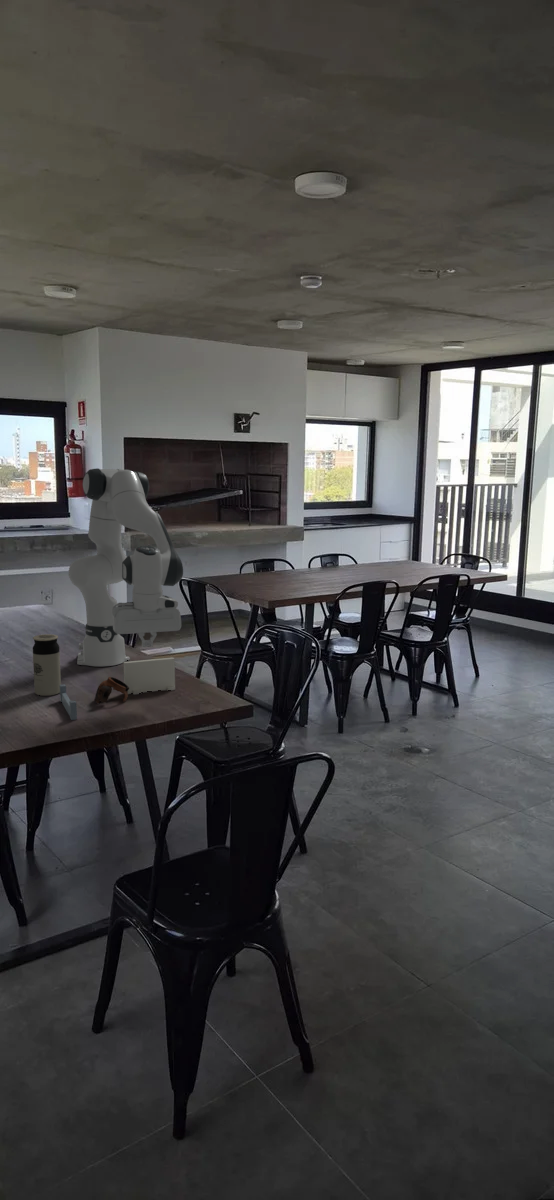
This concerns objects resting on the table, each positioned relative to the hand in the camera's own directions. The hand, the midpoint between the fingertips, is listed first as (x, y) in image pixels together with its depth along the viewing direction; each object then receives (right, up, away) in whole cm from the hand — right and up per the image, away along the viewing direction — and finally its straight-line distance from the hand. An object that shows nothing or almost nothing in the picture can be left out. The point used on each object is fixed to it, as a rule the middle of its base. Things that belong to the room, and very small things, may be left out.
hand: (147, 646), depth 242 cm
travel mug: (-33, -15, +10) cm, 38 cm away
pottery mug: (-12, -17, +1) cm, 21 cm away
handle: (-22, -18, -7) cm, 29 cm away
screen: (-1, -15, +13) cm, 20 cm away
